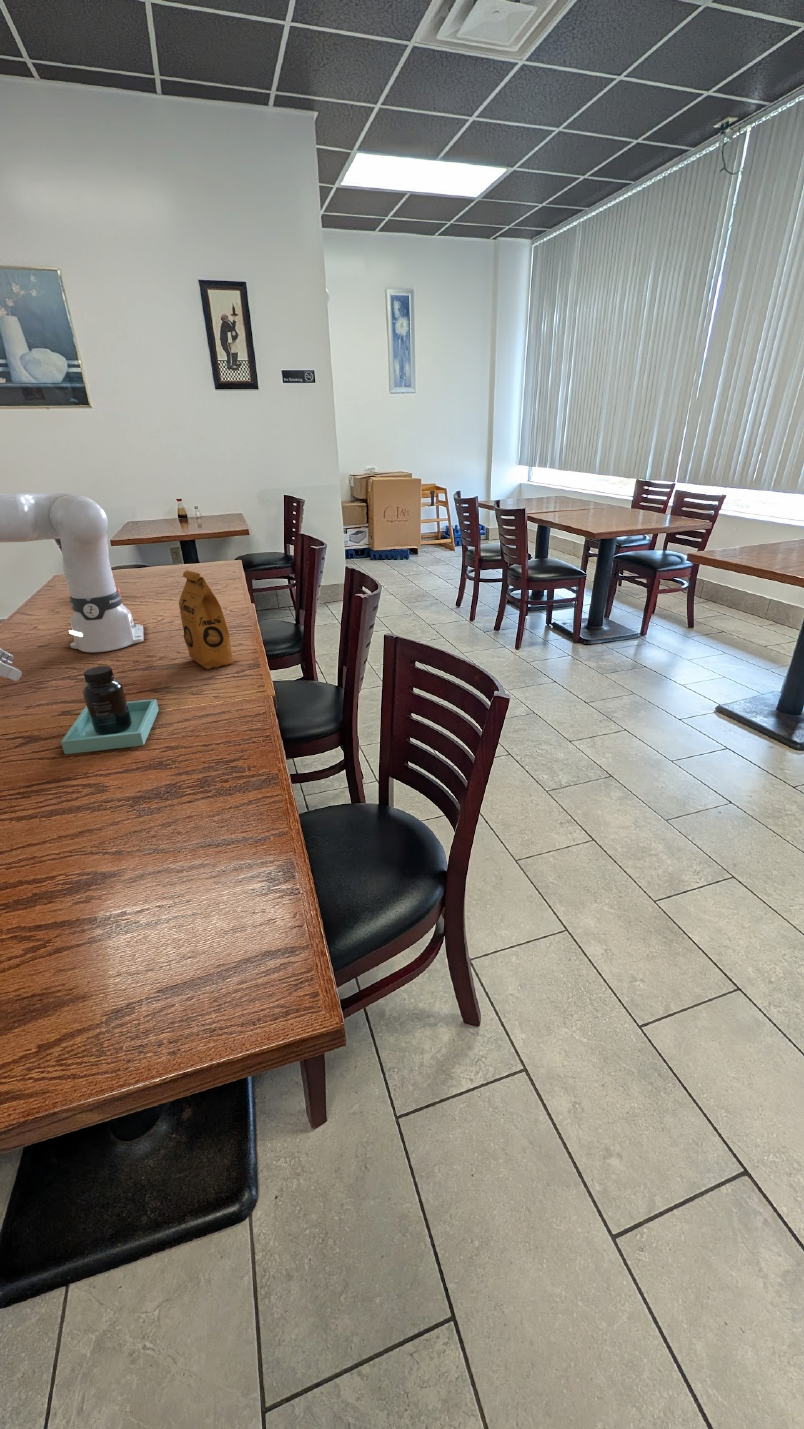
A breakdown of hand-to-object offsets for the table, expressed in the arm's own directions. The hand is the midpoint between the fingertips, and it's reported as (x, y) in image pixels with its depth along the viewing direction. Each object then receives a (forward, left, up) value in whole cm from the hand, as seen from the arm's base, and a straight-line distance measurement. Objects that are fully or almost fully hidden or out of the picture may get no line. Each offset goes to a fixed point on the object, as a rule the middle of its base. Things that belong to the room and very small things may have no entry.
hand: (15, 668), depth 100 cm
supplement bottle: (-6, +11, -16) cm, 20 cm away
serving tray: (-6, +11, -16) cm, 20 cm away
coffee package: (-41, +26, -16) cm, 51 cm away
